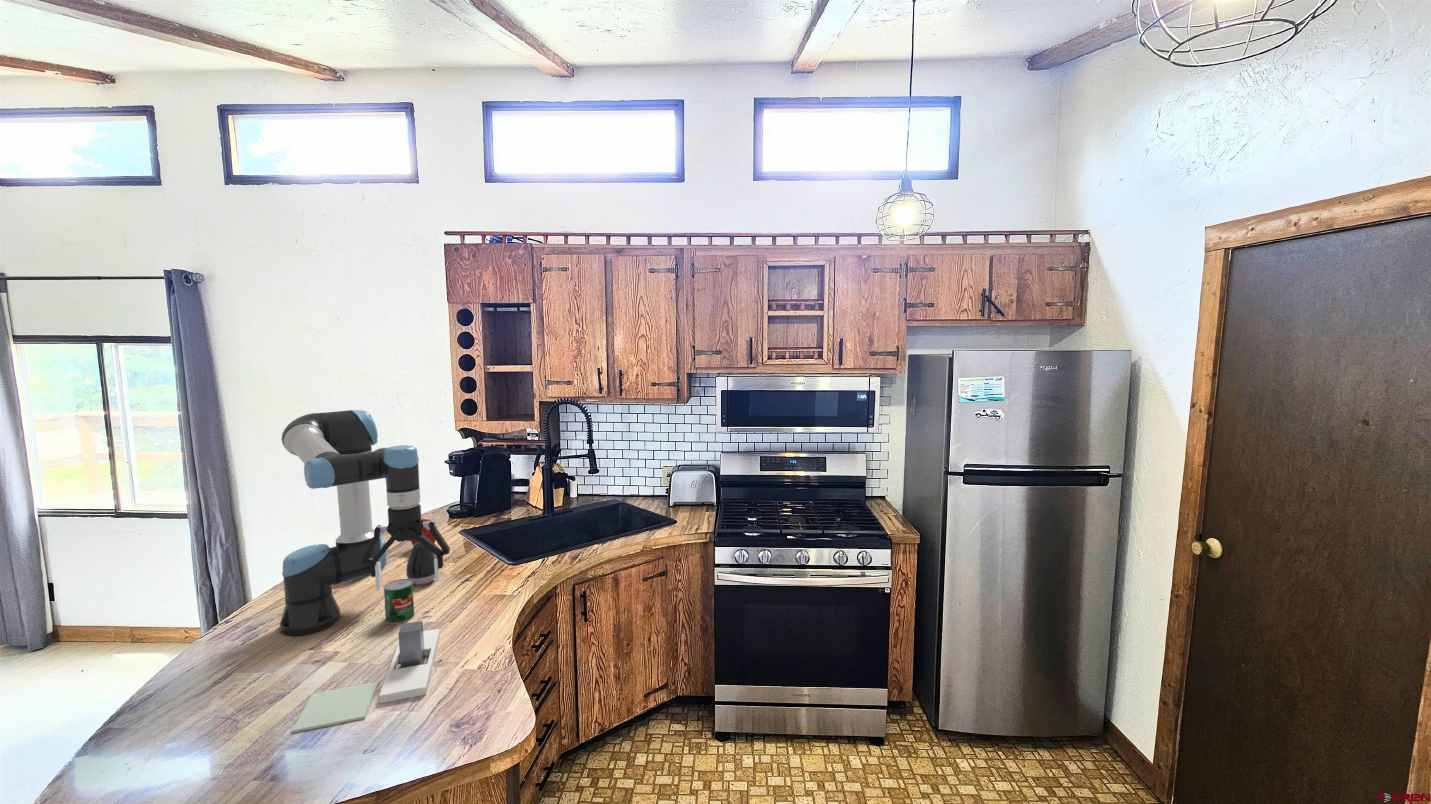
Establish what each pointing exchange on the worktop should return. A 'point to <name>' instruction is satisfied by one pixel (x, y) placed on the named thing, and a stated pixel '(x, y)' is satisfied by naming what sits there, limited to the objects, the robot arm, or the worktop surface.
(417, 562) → the black rounded cone
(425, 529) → the apple
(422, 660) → the square block
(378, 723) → the worktop surface
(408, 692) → the rail
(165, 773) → the worktop surface
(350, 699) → the pad
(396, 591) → the canned tomato
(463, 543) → the worktop surface
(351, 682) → the worktop surface
